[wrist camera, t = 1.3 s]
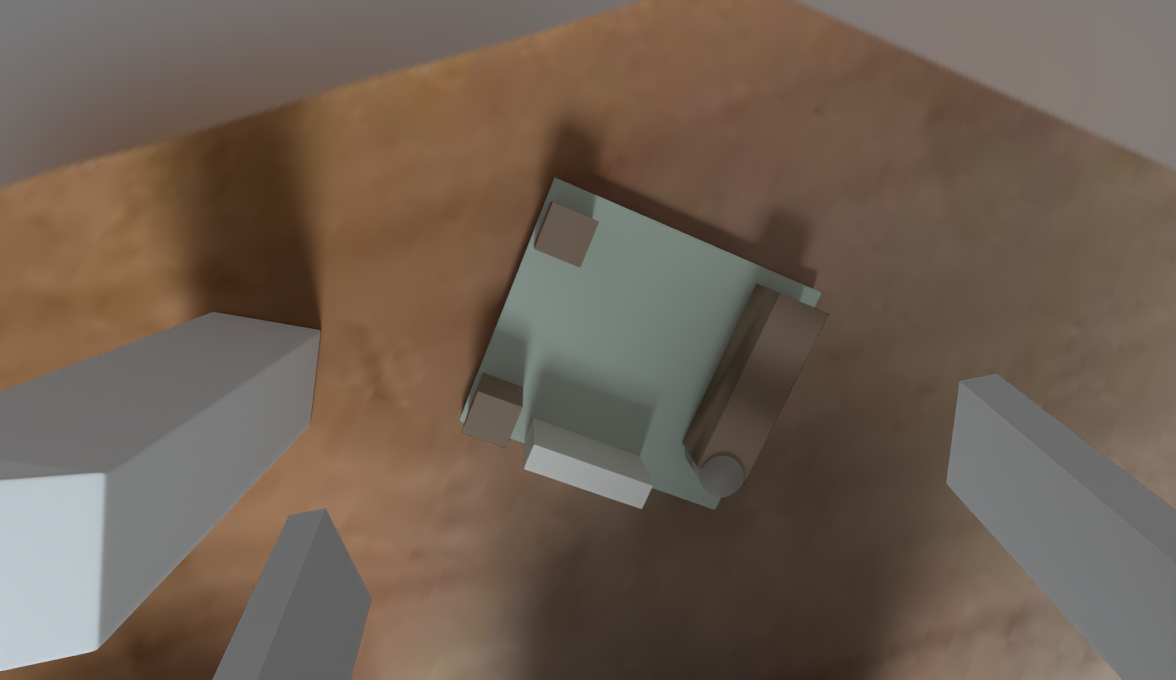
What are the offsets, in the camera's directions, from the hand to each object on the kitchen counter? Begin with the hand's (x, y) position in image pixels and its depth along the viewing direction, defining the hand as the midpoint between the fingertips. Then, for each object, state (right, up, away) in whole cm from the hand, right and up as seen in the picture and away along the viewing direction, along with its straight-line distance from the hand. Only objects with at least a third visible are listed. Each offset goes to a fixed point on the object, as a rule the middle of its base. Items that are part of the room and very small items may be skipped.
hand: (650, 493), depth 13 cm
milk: (-20, +2, +23) cm, 31 cm away
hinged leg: (+8, +1, +24) cm, 25 cm away
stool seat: (+2, +3, +25) cm, 25 cm away
